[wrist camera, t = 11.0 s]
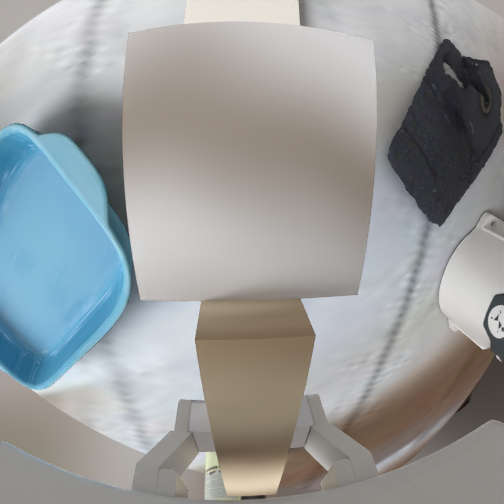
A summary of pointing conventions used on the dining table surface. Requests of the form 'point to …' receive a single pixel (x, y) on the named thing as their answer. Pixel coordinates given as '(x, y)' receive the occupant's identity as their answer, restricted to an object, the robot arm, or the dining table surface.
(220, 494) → the coffee can
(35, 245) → the casserole dish
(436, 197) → the black folded cloth
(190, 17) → the tile
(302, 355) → the turner
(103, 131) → the dining table surface
